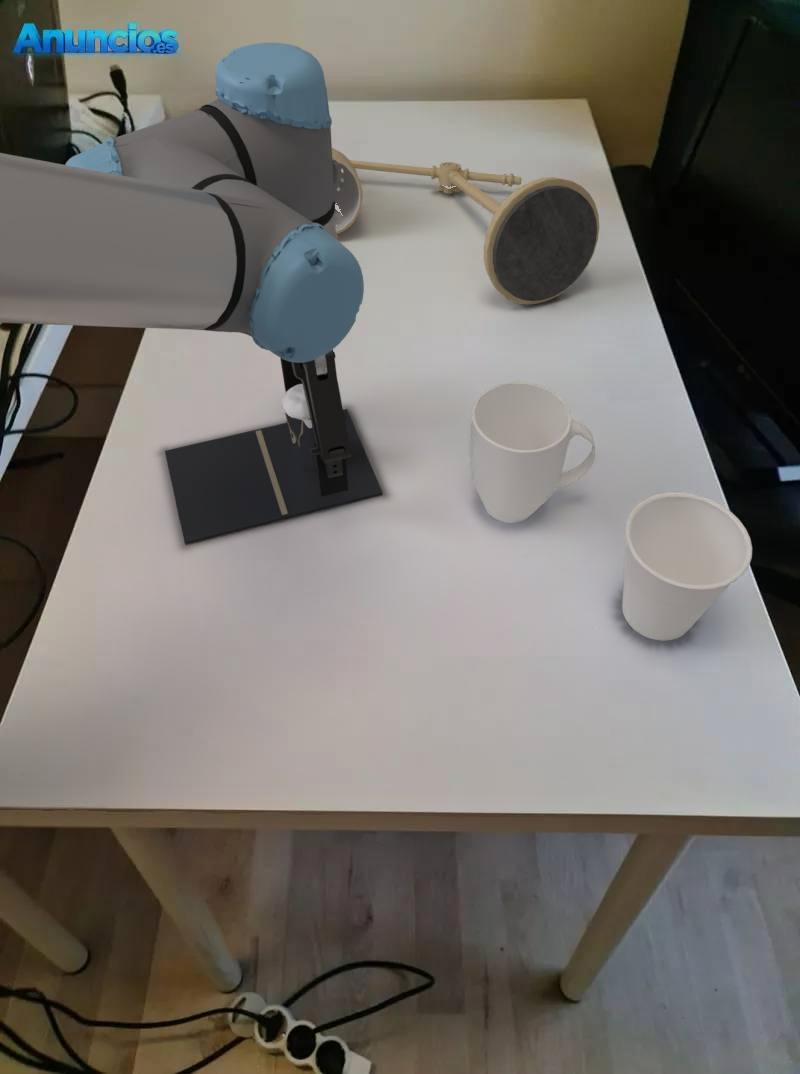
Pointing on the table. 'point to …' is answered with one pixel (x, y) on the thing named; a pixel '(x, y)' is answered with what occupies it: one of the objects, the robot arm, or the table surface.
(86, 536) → the table surface
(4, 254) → the robot arm
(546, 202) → the desk lamp
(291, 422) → the milkshake
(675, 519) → the cup
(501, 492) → the mug
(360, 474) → the desk mat
